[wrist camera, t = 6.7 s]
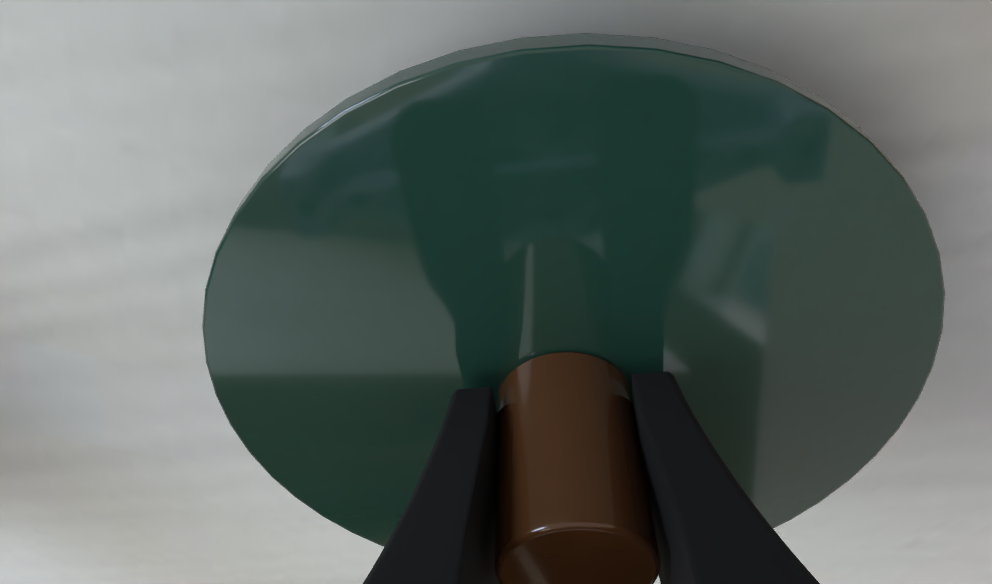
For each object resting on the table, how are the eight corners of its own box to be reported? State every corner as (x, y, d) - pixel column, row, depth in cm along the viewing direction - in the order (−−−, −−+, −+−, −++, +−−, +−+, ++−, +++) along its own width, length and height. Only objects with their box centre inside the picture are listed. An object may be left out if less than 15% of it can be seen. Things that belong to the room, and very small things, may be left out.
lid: (1019, -50, 9) (1349, 97, 5) (847, 519, 17) (934, 726, 13) (86, 82, 10) (-135, 267, 7) (335, 551, 18) (293, 748, 15)
